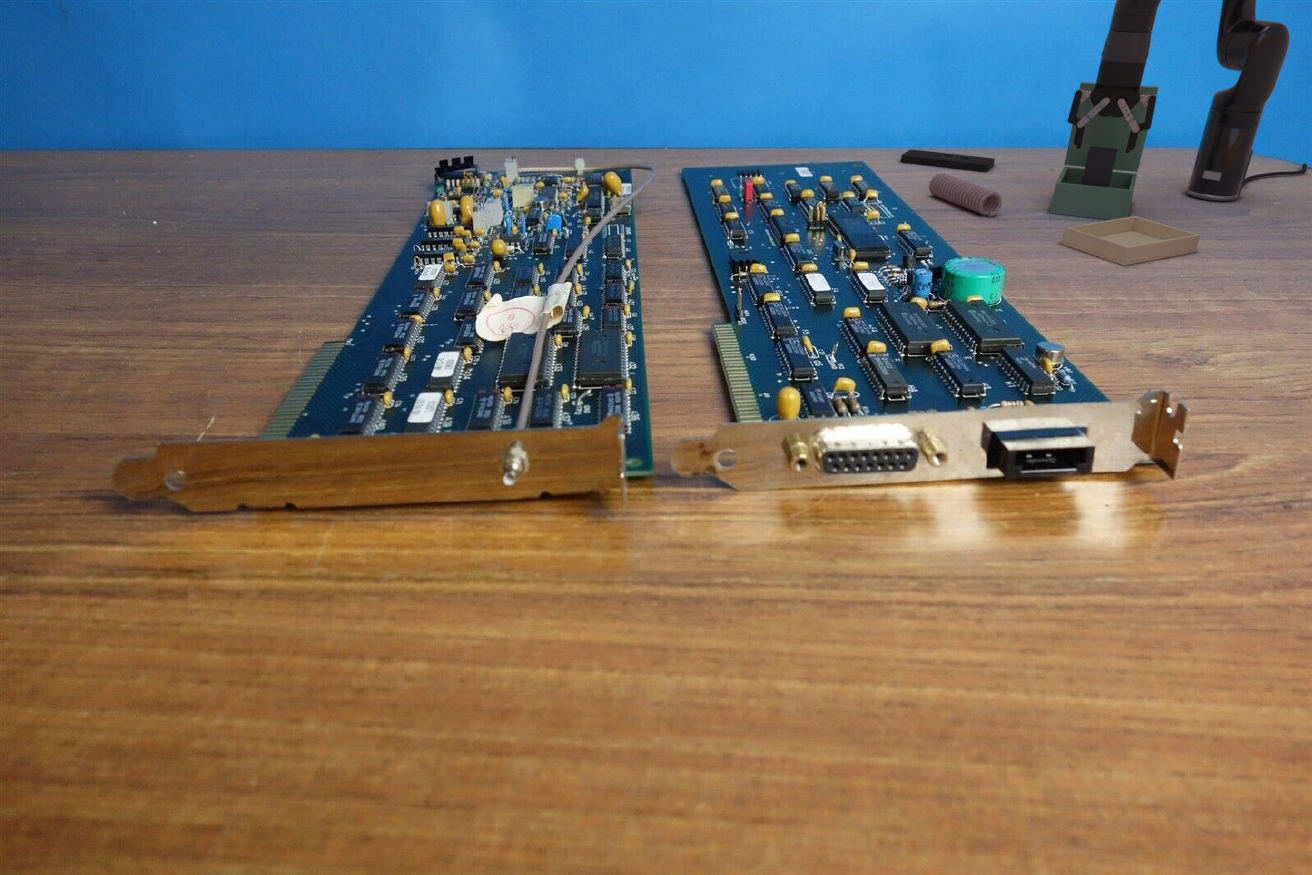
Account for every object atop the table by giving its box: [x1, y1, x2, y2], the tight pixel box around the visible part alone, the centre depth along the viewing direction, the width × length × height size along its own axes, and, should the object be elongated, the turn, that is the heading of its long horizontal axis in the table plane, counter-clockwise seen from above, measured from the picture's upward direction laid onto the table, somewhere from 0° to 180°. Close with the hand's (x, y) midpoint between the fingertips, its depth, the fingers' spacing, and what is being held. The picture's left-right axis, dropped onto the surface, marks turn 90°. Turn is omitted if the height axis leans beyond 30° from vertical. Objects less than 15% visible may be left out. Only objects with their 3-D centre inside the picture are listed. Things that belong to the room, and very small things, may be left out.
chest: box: [1049, 166, 1138, 221], centre depth 183 cm, size 16×14×6 cm
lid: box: [1064, 81, 1159, 173], centre depth 184 cm, size 16×14×5 cm
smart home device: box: [900, 149, 996, 173], centre depth 218 cm, size 8×2×20 cm
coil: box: [928, 172, 1003, 218], centre depth 184 cm, size 5×5×18 cm
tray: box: [1061, 215, 1201, 266], centre depth 160 cm, size 17×13×3 cm
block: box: [1081, 147, 1118, 187], centre depth 178 cm, size 5×5×11 cm
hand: (1102, 150), depth 176 cm, fingers open, 8 cm apart
